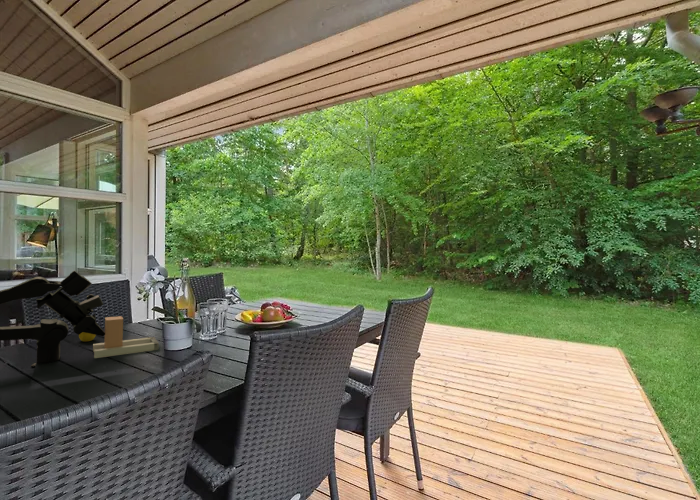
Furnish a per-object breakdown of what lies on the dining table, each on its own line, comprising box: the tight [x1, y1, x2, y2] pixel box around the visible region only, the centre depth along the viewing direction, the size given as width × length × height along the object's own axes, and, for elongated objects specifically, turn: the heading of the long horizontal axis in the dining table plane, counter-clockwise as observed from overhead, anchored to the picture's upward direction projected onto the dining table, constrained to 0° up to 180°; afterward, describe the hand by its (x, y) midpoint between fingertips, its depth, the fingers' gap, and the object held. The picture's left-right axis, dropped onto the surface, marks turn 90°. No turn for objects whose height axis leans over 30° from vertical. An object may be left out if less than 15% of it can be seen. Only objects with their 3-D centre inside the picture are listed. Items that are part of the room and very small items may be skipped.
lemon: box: [78, 332, 97, 343], centre depth 139 cm, size 6×6×8 cm
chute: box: [92, 336, 160, 359], centre depth 130 cm, size 19×10×4 cm, turn 128°
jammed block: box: [103, 315, 124, 349], centre depth 127 cm, size 5×5×12 cm
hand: (104, 334), depth 126 cm, fingers closed, pressing on jammed block
